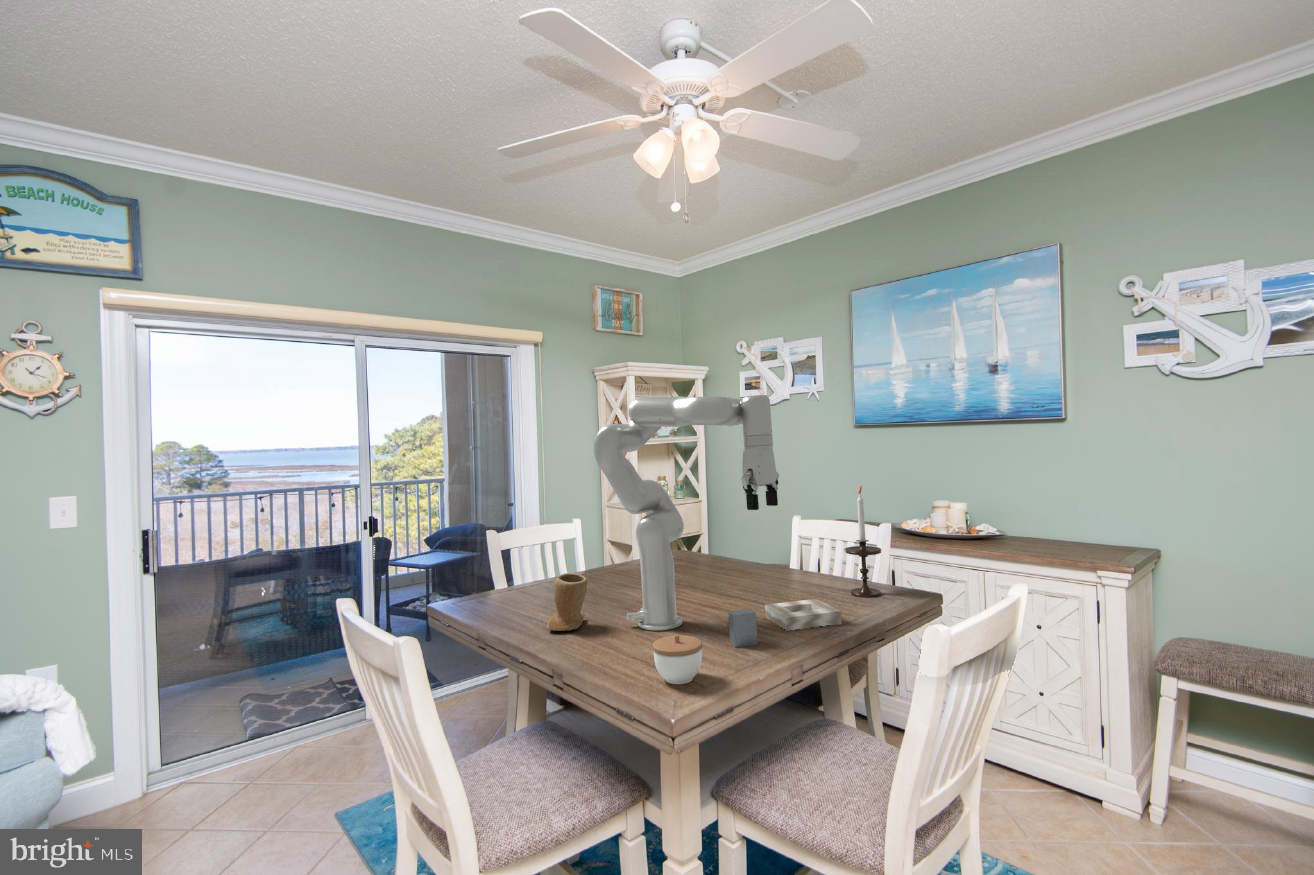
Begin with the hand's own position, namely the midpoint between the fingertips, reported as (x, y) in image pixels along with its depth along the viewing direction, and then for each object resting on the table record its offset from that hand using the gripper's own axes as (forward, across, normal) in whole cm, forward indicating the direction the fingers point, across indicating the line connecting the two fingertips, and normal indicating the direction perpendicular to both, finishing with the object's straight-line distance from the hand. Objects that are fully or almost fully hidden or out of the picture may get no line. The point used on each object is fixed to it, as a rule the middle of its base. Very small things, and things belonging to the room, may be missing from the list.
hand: (762, 507), depth 154 cm
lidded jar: (+33, +36, -2) cm, 49 cm away
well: (+33, -15, +1) cm, 37 cm away
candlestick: (+34, -51, +5) cm, 61 cm away
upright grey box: (+33, +10, -2) cm, 35 cm away
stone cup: (+33, +23, -54) cm, 67 cm away
